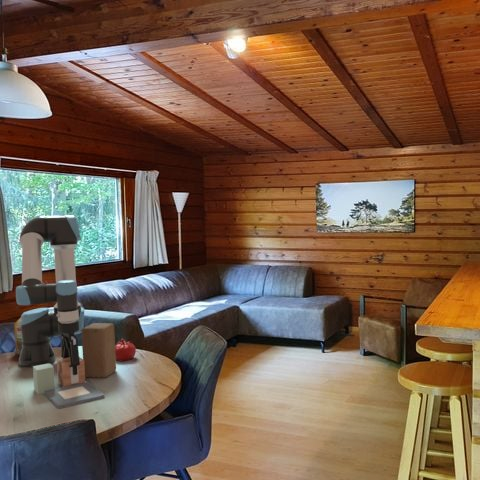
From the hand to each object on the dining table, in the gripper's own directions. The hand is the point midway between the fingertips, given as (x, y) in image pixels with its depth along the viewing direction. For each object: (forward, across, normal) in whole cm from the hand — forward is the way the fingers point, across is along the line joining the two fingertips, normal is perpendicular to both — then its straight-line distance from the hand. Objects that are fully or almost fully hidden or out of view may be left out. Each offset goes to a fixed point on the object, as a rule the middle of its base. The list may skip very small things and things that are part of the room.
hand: (71, 379), depth 197 cm
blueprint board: (+2, +13, -3) cm, 14 cm away
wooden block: (+2, -5, +13) cm, 14 cm away
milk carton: (+3, -59, -1) cm, 59 cm away
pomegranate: (+2, -19, +29) cm, 35 cm away
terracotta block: (+1, 0, 0) cm, 1 cm away
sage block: (+2, 0, -10) cm, 10 cm away
